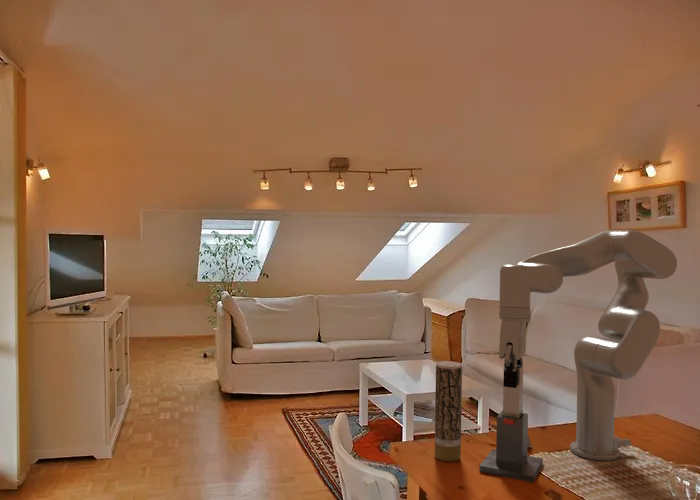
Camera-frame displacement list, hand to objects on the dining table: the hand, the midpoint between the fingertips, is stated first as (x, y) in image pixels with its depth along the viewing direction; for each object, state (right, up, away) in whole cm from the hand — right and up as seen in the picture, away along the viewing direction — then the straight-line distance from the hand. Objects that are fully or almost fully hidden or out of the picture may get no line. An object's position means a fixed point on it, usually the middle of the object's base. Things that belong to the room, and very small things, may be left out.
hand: (513, 383), depth 148 cm
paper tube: (-16, -22, +7) cm, 27 cm away
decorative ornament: (+7, -22, +18) cm, 29 cm away
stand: (0, -22, +1) cm, 22 cm away
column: (0, -14, 0) cm, 14 cm away
